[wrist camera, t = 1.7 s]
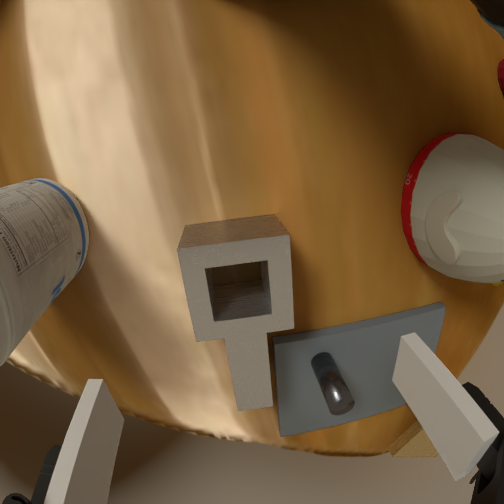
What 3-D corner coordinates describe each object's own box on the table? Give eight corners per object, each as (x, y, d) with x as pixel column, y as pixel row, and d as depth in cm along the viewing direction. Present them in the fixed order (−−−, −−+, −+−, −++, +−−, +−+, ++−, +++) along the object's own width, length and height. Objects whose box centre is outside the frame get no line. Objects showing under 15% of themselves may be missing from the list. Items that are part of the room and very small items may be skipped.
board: (272, 337, 29) (274, 344, 28) (440, 301, 30) (446, 306, 29) (279, 429, 34) (280, 436, 33) (416, 393, 35) (420, 399, 34)
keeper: (389, 361, 30) (430, 421, 22) (432, 376, 33) (470, 425, 24) (360, 394, 32) (392, 456, 23) (406, 405, 34) (437, 456, 25)
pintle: (310, 354, 29) (330, 401, 23) (332, 350, 29) (356, 395, 23) (310, 371, 29) (329, 417, 23) (331, 366, 29) (353, 411, 24)
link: (185, 225, 24) (177, 249, 19) (274, 214, 25) (289, 234, 20) (214, 373, 30) (215, 413, 24) (284, 363, 30) (296, 402, 25)
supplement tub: (57, 300, 25) (-22, 407, 12) (-7, 231, 22) (-111, 300, 9) (115, 229, 24) (22, 330, 10) (42, 151, 21) (-91, 180, 7)
